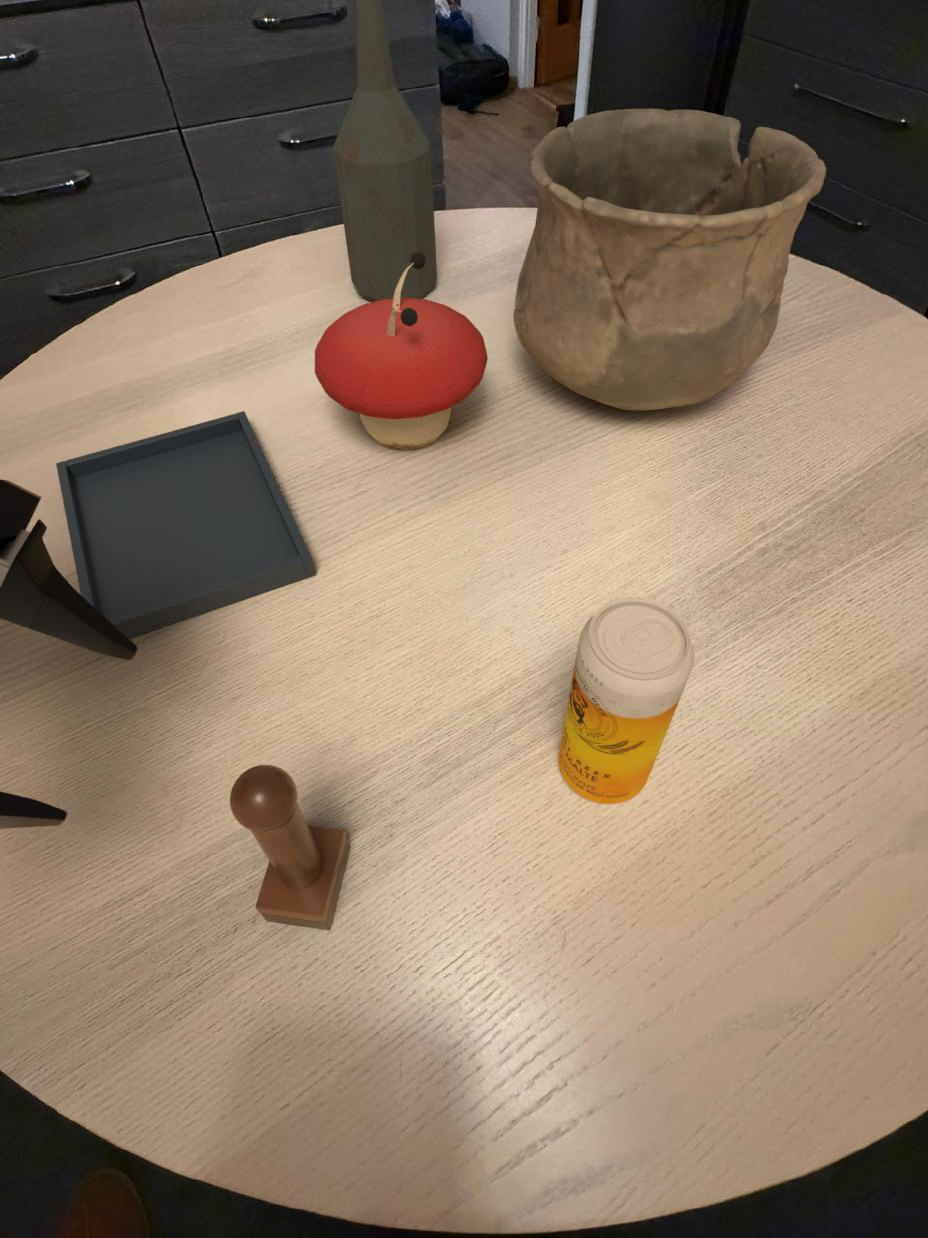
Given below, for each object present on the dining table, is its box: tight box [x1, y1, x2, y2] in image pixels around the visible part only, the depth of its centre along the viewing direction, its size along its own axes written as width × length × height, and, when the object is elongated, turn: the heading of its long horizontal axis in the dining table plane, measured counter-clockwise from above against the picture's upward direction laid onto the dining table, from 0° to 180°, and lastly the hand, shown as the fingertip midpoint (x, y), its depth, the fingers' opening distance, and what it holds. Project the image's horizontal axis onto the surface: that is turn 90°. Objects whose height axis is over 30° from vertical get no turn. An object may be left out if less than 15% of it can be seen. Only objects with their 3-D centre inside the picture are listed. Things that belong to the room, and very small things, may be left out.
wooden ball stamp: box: [229, 764, 351, 931], centre depth 41 cm, size 5×4×14 cm
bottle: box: [332, 0, 438, 303], centre depth 79 cm, size 10×10×30 cm
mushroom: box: [314, 252, 489, 451], centre depth 68 cm, size 16×16×15 cm
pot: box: [513, 108, 827, 411], centre depth 70 cm, size 25×24×21 cm
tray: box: [55, 410, 317, 640], centre depth 65 cm, size 18×22×2 cm
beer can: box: [558, 596, 695, 805], centre depth 45 cm, size 6×6×15 cm
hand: (102, 730), depth 37 cm, fingers open, 9 cm apart
